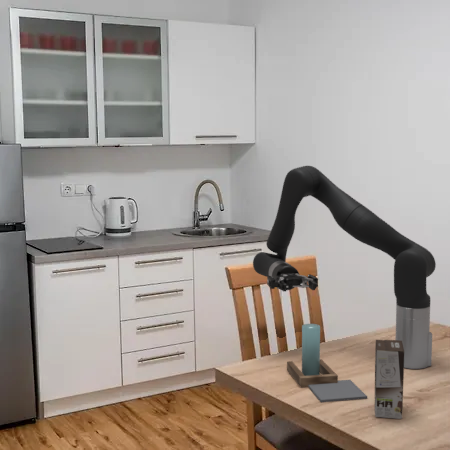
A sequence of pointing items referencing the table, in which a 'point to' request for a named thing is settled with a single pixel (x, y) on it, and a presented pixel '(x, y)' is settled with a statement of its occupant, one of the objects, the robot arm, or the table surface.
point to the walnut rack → (304, 381)
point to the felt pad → (337, 391)
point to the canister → (310, 349)
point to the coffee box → (389, 378)
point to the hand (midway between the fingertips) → (299, 287)
